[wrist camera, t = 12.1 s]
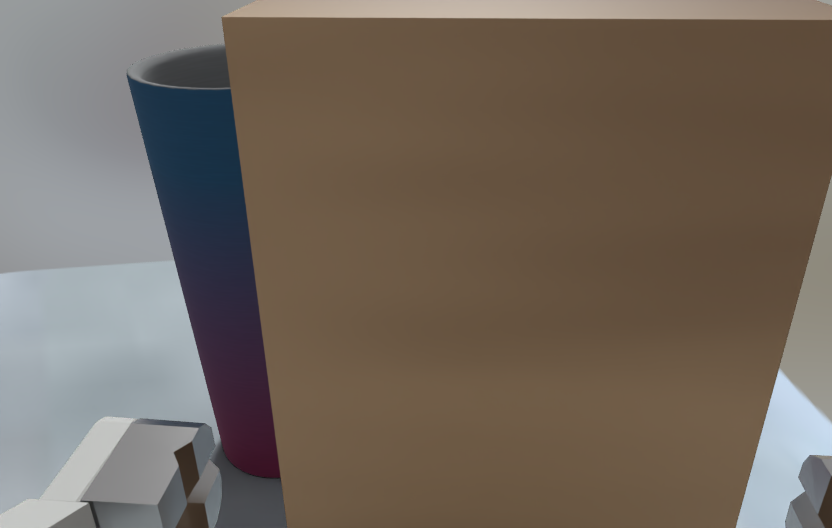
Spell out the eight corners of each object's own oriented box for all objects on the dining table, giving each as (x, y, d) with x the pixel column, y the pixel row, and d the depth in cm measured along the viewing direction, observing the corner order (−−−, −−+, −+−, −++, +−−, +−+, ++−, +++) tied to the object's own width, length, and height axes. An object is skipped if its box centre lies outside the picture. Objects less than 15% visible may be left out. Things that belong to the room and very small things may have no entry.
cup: (366, 493, 27) (344, 86, 20) (181, 499, 26) (91, 91, 19) (370, 381, 33) (354, 40, 26) (219, 386, 32) (161, 43, 25)
